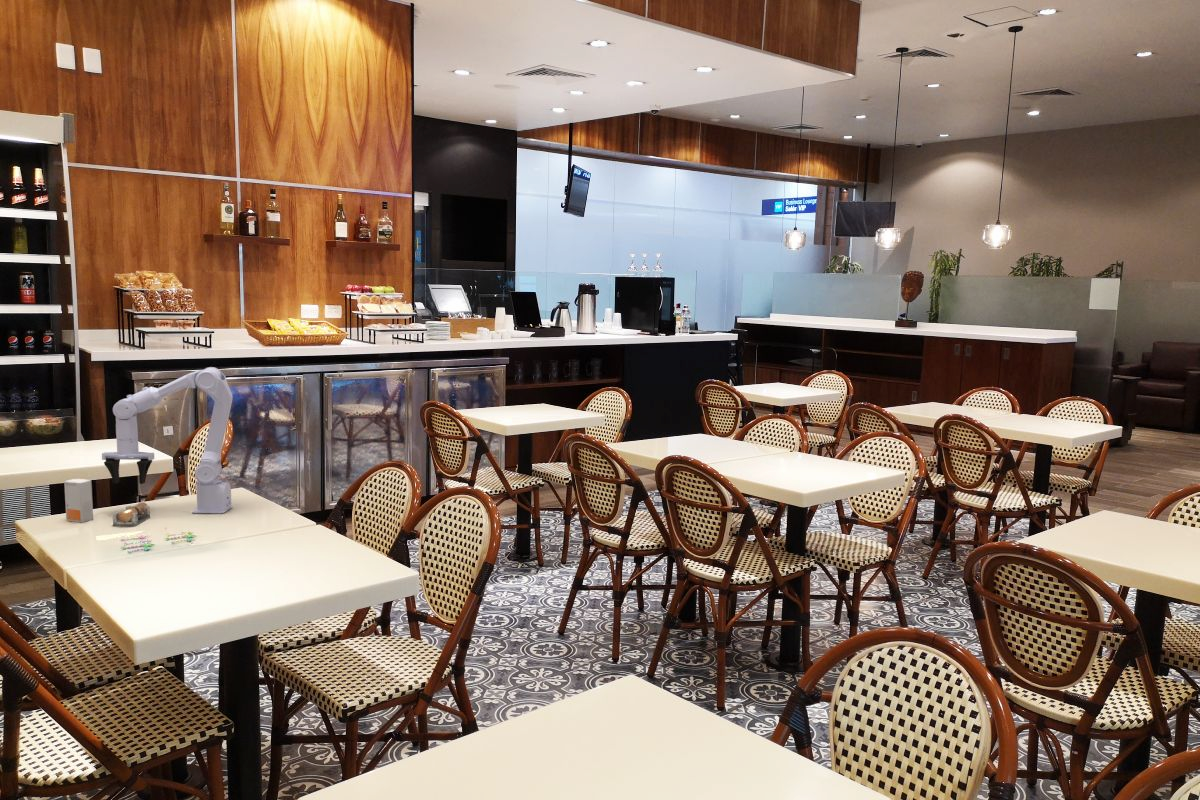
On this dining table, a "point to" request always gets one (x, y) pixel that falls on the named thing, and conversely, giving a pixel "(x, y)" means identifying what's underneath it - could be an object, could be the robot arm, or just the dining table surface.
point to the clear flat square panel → (105, 537)
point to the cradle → (132, 518)
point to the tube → (126, 514)
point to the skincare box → (78, 500)
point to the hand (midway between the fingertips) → (129, 483)
